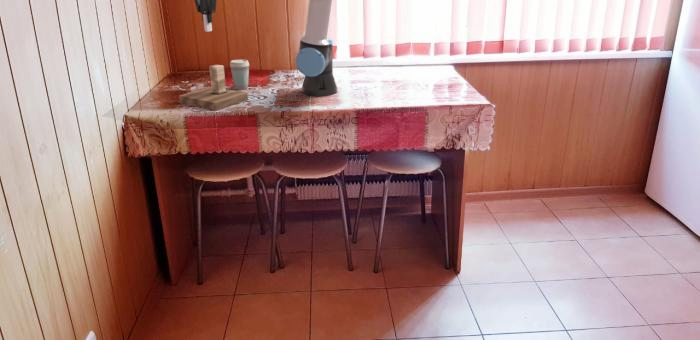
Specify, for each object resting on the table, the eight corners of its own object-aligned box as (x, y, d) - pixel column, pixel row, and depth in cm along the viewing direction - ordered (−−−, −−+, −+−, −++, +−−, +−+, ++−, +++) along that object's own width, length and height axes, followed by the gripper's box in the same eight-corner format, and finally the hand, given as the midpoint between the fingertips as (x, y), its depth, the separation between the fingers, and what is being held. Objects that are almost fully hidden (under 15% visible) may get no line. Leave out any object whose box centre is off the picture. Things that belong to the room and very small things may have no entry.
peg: (226, 99, 211) (223, 65, 206) (219, 101, 208) (216, 67, 203) (219, 98, 213) (216, 64, 208) (212, 100, 210) (209, 66, 205)
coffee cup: (246, 90, 225) (244, 63, 220) (228, 89, 226) (226, 62, 221) (254, 86, 232) (252, 59, 228) (236, 85, 234) (234, 58, 229)
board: (248, 100, 211) (247, 92, 210) (216, 110, 197) (215, 103, 195) (212, 93, 220) (212, 86, 219) (180, 102, 206) (179, 95, 205)
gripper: (221, -32, 197) (227, 31, 206) (196, -33, 203) (203, 28, 212) (207, -32, 191) (213, 33, 200) (182, -33, 197) (189, 31, 206)
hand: (208, 31), depth 206 cm, fingers closed
